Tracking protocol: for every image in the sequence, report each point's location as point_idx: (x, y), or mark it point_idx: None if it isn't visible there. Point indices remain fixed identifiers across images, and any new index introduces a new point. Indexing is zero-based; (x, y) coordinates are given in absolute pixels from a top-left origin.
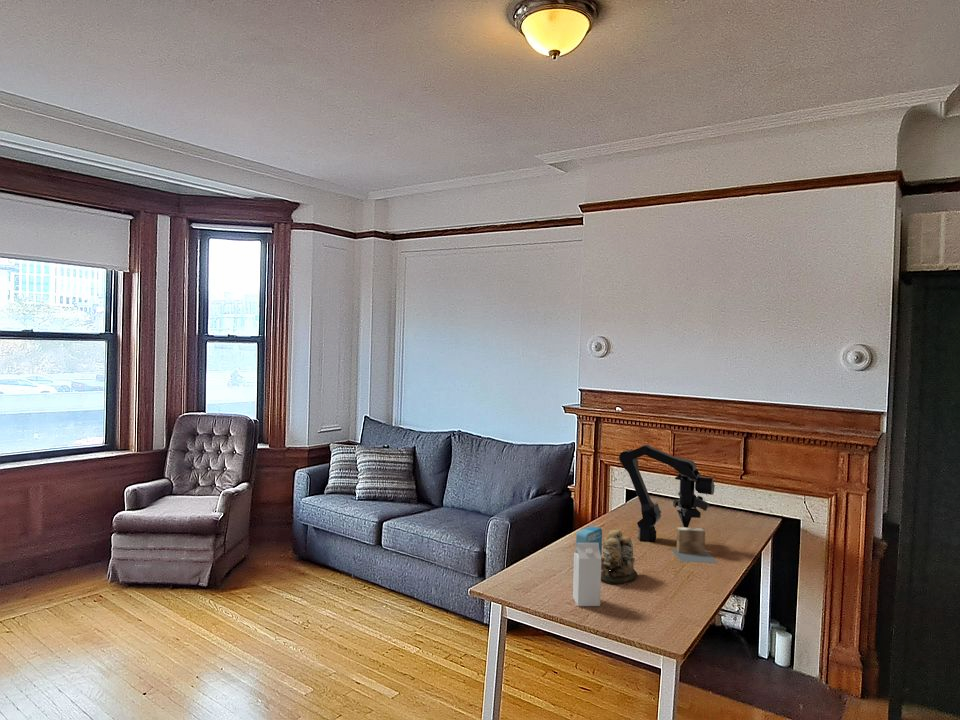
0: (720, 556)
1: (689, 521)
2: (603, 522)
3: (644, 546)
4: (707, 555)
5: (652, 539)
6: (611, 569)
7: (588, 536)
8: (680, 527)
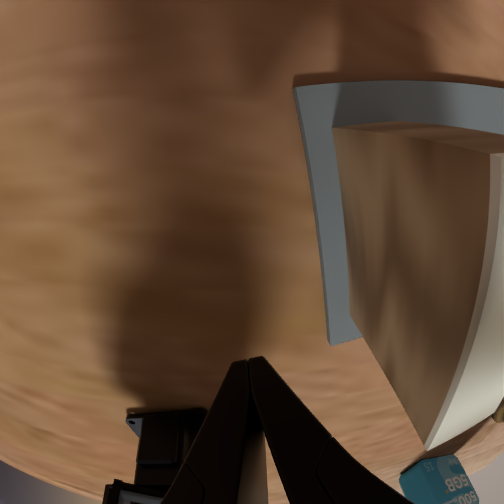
0: (376, 8)
1: (344, 454)
2: (48, 479)
3: None
4: (425, 107)
5: (194, 430)
6: (492, 417)
7: (475, 500)
8: (441, 432)
